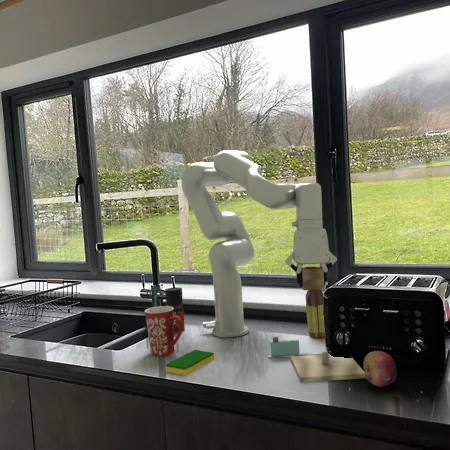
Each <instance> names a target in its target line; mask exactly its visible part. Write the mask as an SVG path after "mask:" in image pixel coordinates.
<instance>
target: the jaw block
mask: <svg viewBox="0 0 450 450" xmlns="http://www.w3.org/2000/svg"><path fill="white" fill-rule="evenodd" d="M301 273H302V283H303V286H302V287H300V288H301V289H302V290H303V291H308V290H319V289H321V290H325V286H324V269H323V268H322V267H321V266H320V265H309V266H306V265H304V266H302V269H301Z"/></svg>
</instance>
